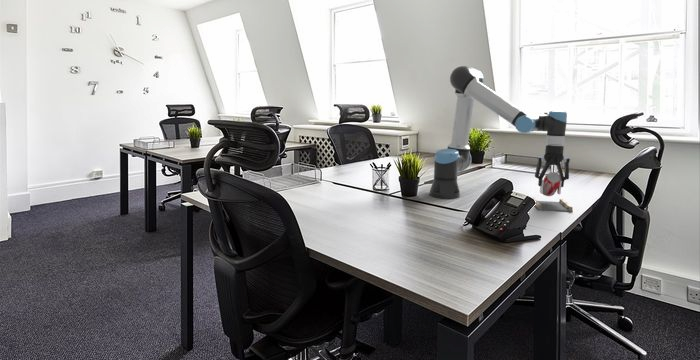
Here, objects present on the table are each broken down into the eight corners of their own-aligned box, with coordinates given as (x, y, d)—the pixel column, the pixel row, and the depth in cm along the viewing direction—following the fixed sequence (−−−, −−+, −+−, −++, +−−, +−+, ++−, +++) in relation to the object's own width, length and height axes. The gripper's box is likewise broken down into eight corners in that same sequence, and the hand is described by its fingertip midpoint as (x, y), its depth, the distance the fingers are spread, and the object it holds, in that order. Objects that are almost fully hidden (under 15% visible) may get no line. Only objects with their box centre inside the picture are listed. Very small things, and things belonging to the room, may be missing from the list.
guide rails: (531, 200, 204) (531, 197, 204) (562, 202, 201) (562, 198, 201) (538, 208, 189) (539, 205, 189) (572, 210, 186) (572, 207, 186)
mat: (530, 201, 204) (530, 200, 204) (562, 203, 202) (562, 202, 201) (538, 210, 189) (538, 208, 189) (572, 212, 186) (572, 210, 186)
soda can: (555, 197, 200) (563, 184, 190) (540, 197, 201) (546, 183, 191) (554, 185, 204) (561, 171, 194) (538, 184, 205) (544, 170, 195)
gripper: (575, 144, 195) (570, 192, 199) (530, 143, 199) (525, 190, 203) (581, 146, 188) (575, 196, 192) (533, 145, 191) (529, 194, 196)
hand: (549, 193), depth 198 cm, fingers closed on soda can, 7 cm apart
